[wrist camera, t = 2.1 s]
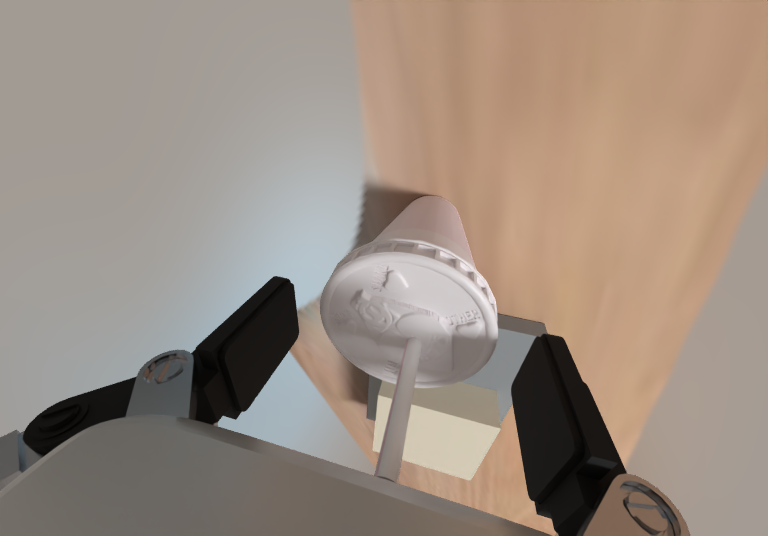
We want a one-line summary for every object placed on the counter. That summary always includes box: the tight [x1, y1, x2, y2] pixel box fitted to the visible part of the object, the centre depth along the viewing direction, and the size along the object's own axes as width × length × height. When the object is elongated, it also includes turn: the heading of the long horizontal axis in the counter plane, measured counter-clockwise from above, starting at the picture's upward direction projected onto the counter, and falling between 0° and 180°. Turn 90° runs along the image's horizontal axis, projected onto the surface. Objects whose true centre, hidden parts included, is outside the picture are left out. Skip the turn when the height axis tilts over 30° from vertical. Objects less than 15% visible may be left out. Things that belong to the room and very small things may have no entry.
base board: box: [367, 314, 548, 481], centre depth 23 cm, size 16×12×4 cm
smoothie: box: [320, 196, 498, 483], centre depth 12 cm, size 6×6×14 cm
